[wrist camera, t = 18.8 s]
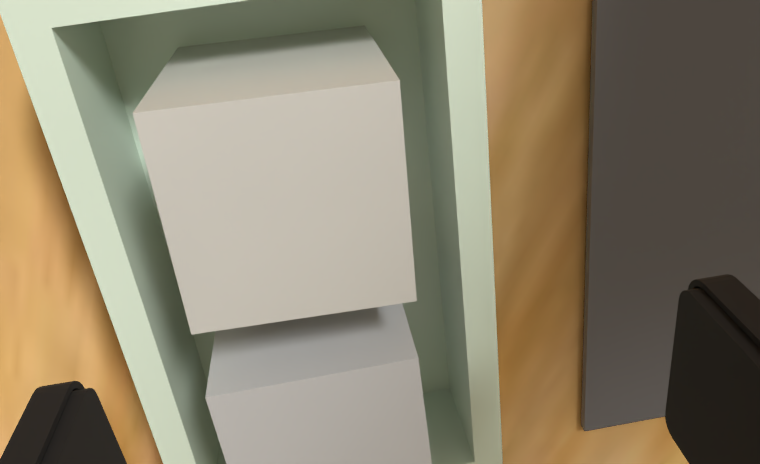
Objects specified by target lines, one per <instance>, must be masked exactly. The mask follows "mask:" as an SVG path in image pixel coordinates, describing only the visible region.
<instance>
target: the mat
mask: <svg viewBox="0 0 760 464" xmlns="http://www.w3.org/2000/svg"><path fill="white" fill-rule="evenodd" d="M725 274H729V275H733V276H734V277H736V278H737V279H738V280H739V281H740V282H741V283H742V284H744V285H745V286H746V287H747V288H748V289H749V290H750V291H751V292H752V293H753V294H754V295H755V296H756V297H757V298H759V299H760V0H593V2H592V40H591V77H590V114H589V151H588V189H587V226H586V263H585V300H584V338H583V375H582V412H581V426H582V428H583V430H584V431H589V430H595V429H600V428H605V427H611V426H616V425H621V424H627V423H632V422H637V421H643V420H648V419H654V418H659V417H664V416H665V410H666V402H667V393H668V385H669V376H670V368H671V360H672V351H673V343H674V334H675V326H676V317H677V309H678V300H679V296H680V293H681V292H682V291H684V290H688V286H689V284H690V283H691V281H693V280H695V279H701V278H707V277H713V276H719V275H725Z"/></svg>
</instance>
